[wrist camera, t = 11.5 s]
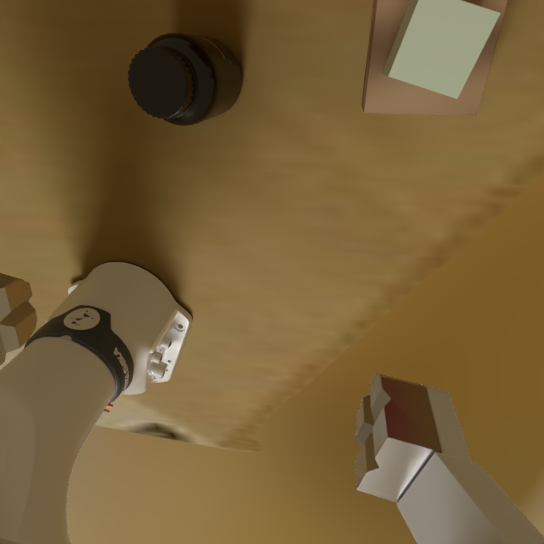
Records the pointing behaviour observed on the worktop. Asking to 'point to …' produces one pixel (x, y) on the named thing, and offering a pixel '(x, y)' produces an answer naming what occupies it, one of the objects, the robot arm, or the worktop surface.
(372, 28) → the pinkish brown block
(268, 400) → the worktop surface
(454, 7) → the sage block
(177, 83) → the supplement bottle
